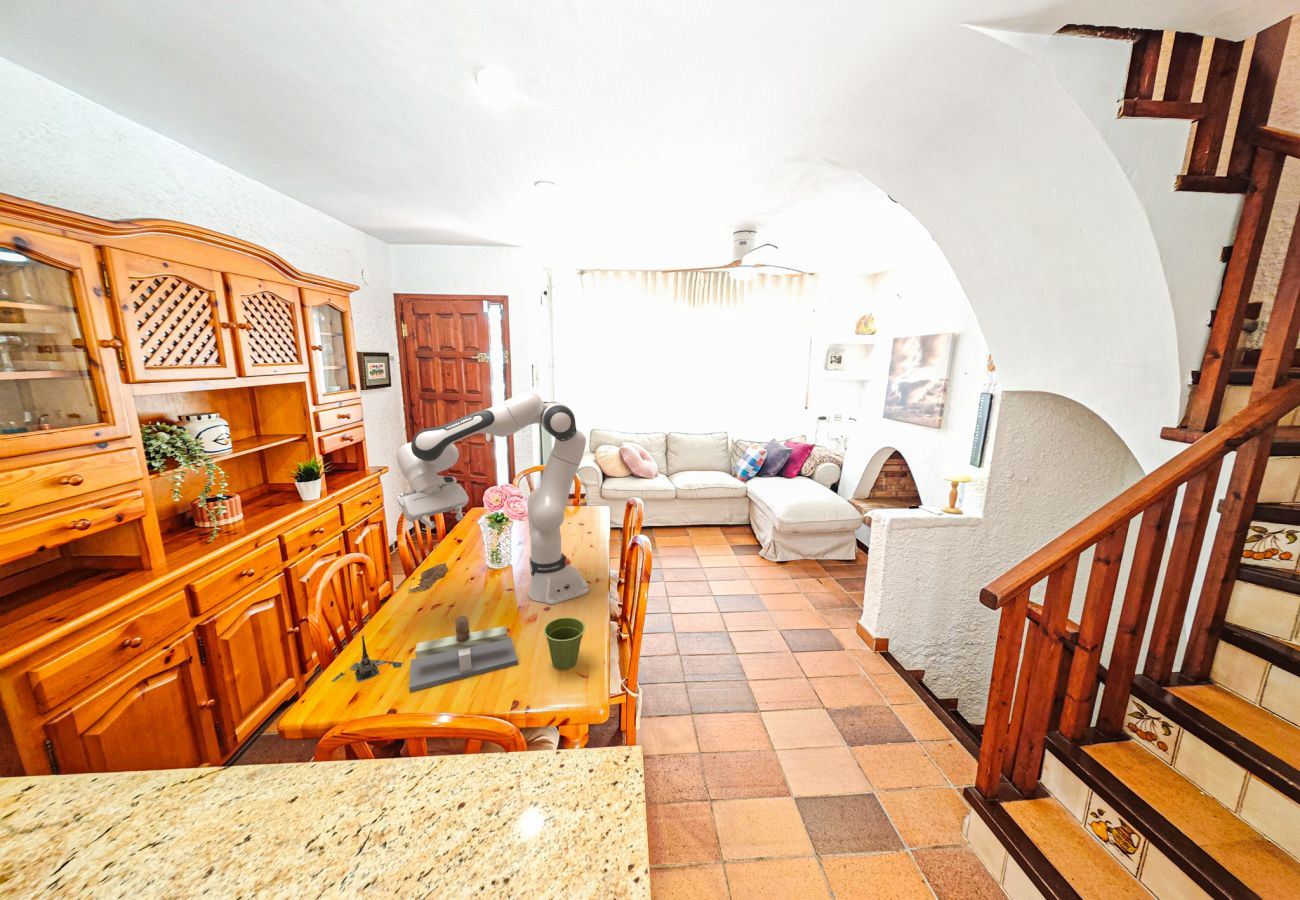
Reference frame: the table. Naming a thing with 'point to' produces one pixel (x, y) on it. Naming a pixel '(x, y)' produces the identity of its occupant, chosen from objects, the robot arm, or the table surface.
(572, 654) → the plant pot
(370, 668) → the eiffel tower figurine
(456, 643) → the balance beam
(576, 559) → the table surface
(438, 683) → the stand
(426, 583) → the wooden fragment
